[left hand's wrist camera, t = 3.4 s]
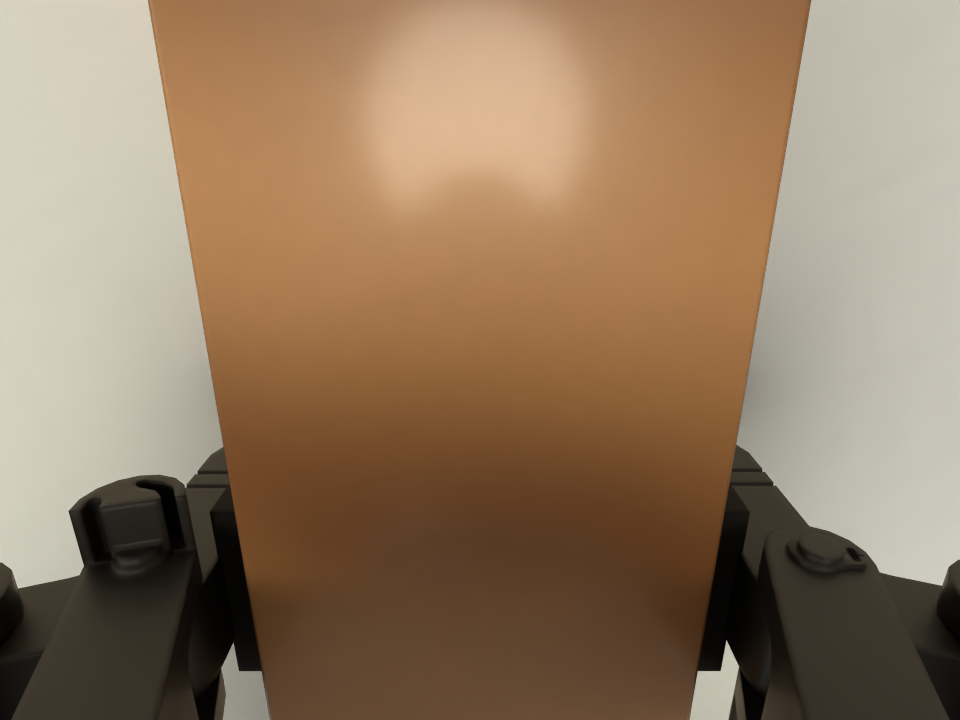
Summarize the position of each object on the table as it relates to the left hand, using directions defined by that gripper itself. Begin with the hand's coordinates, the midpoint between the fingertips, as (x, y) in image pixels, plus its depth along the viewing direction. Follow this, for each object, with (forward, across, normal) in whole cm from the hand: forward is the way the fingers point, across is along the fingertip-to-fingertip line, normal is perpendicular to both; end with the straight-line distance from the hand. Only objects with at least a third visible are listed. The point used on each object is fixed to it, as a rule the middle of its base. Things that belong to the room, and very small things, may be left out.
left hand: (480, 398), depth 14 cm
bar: (+1, 0, -32) cm, 32 cm away
